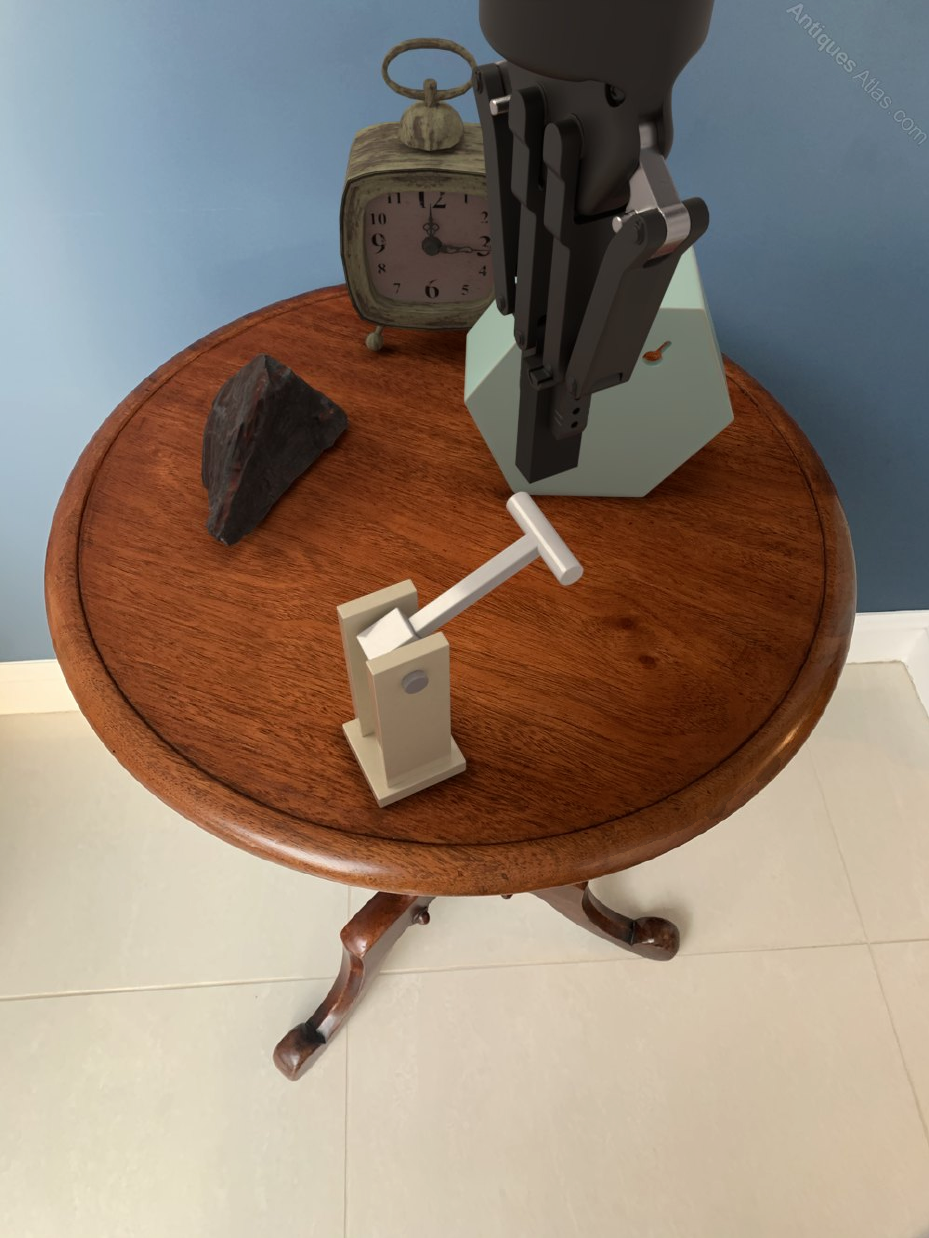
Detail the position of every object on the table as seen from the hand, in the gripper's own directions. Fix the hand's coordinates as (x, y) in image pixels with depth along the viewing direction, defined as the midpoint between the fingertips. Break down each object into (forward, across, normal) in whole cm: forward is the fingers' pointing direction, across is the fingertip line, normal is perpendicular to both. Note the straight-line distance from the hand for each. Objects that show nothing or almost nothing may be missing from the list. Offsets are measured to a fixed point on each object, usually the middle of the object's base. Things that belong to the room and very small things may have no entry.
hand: (546, 465), depth 48 cm
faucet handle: (+9, 0, -4) cm, 10 cm away
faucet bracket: (+22, 0, -9) cm, 23 cm away
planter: (+22, -18, +15) cm, 32 cm away
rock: (+22, -26, -7) cm, 35 cm away
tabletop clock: (+22, -38, +12) cm, 45 cm away
